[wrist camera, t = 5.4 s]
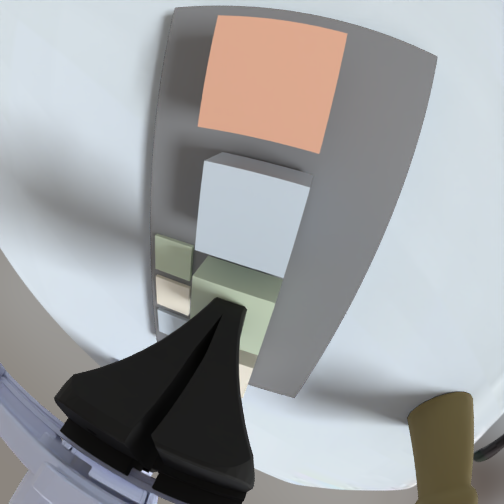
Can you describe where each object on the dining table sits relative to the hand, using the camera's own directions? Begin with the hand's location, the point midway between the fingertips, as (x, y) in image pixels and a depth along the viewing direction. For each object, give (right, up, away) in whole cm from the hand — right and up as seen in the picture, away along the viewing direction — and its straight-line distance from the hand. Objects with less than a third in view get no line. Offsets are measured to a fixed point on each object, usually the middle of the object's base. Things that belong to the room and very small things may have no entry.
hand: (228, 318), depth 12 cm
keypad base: (+1, +3, +1) cm, 4 cm away
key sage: (0, +1, +1) cm, 2 cm away
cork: (+16, -10, +4) cm, 20 cm away
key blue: (+1, +5, -1) cm, 5 cm away
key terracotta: (+2, +8, -4) cm, 9 cm away
